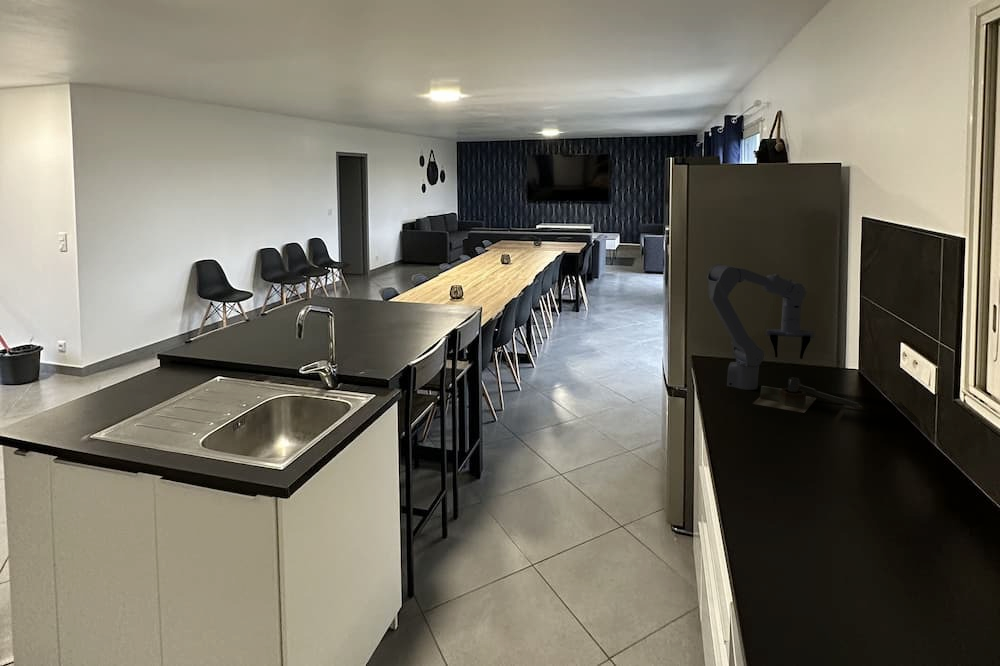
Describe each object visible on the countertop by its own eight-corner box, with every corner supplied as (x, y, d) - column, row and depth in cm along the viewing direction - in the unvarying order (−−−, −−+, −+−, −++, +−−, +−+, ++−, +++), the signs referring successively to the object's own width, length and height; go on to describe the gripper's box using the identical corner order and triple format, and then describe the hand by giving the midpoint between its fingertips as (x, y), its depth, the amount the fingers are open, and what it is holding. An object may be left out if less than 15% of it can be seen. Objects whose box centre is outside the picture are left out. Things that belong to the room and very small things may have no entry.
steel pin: (784, 402, 202) (786, 377, 200) (793, 401, 202) (795, 377, 201) (790, 405, 199) (791, 380, 197) (799, 404, 199) (801, 379, 198)
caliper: (789, 399, 207) (790, 380, 205) (789, 398, 207) (791, 379, 206) (861, 408, 196) (863, 388, 195) (862, 407, 197) (864, 387, 196)
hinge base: (752, 406, 201) (753, 391, 200) (767, 392, 215) (768, 378, 213) (804, 415, 192) (805, 399, 191) (816, 401, 206) (817, 385, 205)
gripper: (767, 319, 215) (765, 359, 218) (816, 321, 209) (813, 361, 212) (767, 315, 221) (765, 353, 224) (814, 317, 216) (811, 356, 219)
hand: (788, 357), depth 218 cm, fingers open, 7 cm apart
